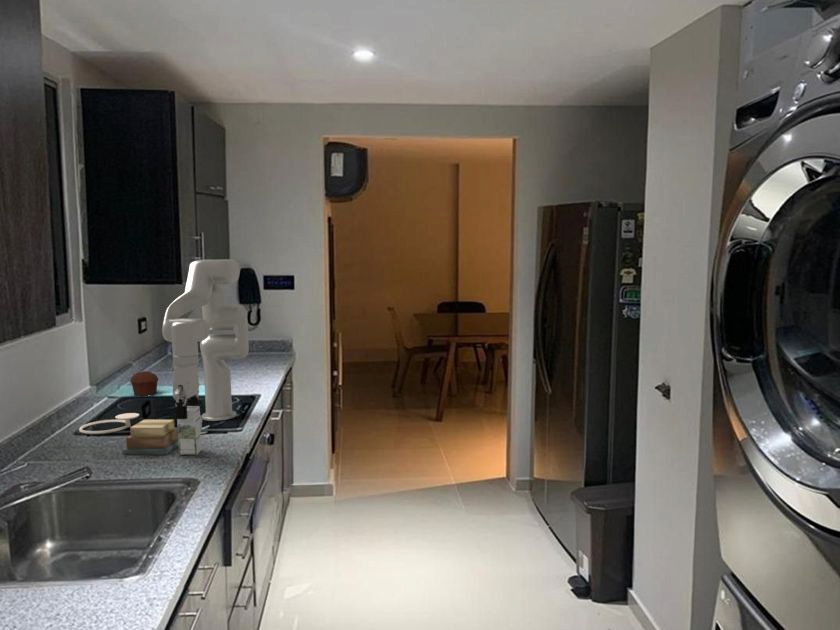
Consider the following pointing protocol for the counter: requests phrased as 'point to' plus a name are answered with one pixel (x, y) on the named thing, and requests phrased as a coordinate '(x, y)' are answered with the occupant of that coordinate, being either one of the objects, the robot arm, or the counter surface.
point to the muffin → (144, 383)
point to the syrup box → (190, 432)
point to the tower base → (152, 437)
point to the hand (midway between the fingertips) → (188, 415)
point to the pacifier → (203, 427)
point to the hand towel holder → (122, 418)
